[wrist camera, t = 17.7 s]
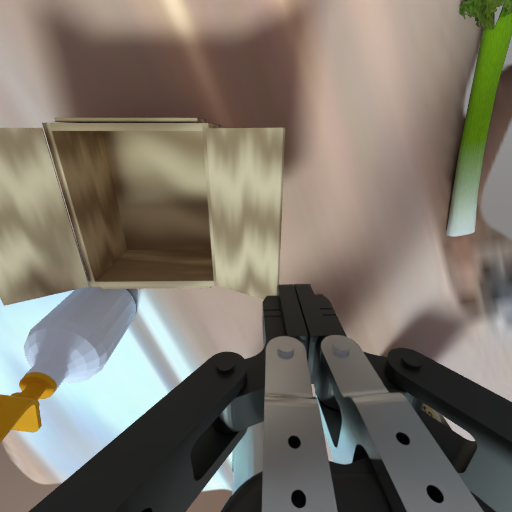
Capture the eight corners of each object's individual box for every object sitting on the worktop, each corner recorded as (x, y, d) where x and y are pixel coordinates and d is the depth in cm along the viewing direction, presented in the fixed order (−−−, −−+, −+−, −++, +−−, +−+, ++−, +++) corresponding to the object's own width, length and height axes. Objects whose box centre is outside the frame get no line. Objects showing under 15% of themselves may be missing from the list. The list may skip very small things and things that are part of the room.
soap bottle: (77, 322, 42) (-116, 533, 20) (74, 272, 39) (-164, 462, 17) (135, 331, 43) (13, 543, 21) (138, 283, 40) (-5, 478, 17)
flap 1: (88, 286, 29) (4, 305, 26) (88, 284, 29) (5, 303, 26) (41, 128, 22) (-79, 127, 19) (42, 128, 23) (-77, 127, 20)
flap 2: (218, 283, 29) (278, 300, 26) (216, 285, 29) (276, 302, 26) (208, 128, 23) (285, 127, 20) (205, 128, 23) (283, 127, 20)
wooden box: (226, 254, 38) (219, 288, 30) (125, 255, 38) (91, 289, 30) (219, 121, 31) (208, 117, 23) (96, 121, 31) (40, 117, 23)
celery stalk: (421, 229, 39) (452, -67, 25) (466, 217, 40) (522, -82, 25) (455, 247, 34) (521, -117, 19) (506, 233, 34) (609, -135, 20)
